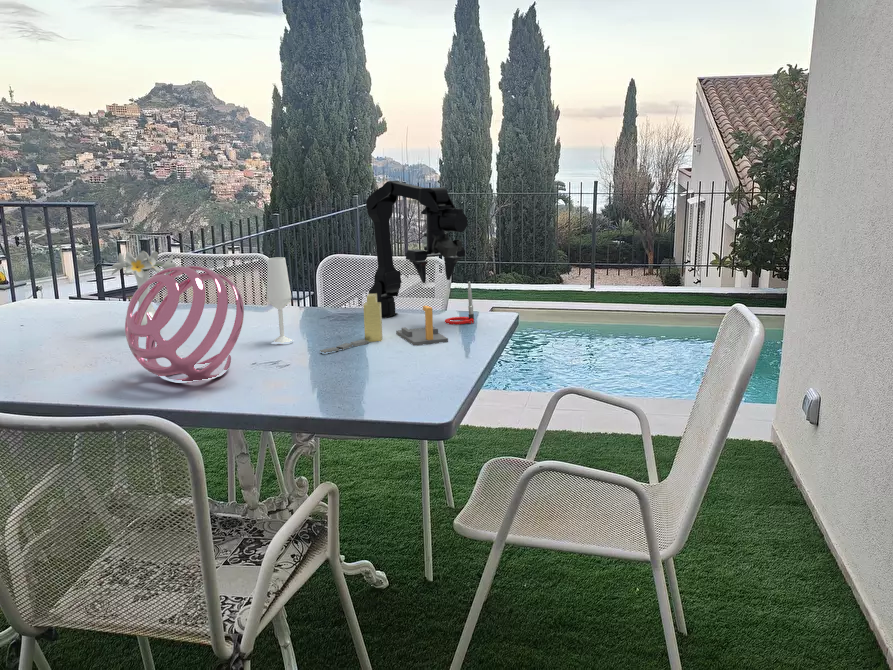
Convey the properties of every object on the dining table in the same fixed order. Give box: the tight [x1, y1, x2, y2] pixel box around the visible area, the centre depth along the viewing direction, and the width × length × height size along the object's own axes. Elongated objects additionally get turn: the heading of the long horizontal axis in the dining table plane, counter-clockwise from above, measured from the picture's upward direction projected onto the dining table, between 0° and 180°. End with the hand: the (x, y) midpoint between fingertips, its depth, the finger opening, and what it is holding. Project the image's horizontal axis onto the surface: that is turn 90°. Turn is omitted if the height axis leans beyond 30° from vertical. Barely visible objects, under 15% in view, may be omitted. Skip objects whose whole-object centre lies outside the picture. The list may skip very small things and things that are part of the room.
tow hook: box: [444, 281, 475, 325], centre depth 226 cm, size 8×13×9 cm
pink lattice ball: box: [124, 265, 245, 381], centre depth 169 cm, size 28×28×27 cm
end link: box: [362, 293, 383, 343], centre depth 204 cm, size 4×4×13 cm
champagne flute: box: [266, 256, 293, 343], centre depth 202 cm, size 7×7×24 cm
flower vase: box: [111, 250, 177, 325], centre depth 218 cm, size 13×18×25 cm
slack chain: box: [319, 338, 369, 353], centre depth 196 cm, size 4×16×1 cm, turn 144°
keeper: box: [395, 305, 449, 346], centre depth 206 cm, size 16×10×10 cm, turn 22°
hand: (436, 281), depth 220 cm, fingers open, 9 cm apart
